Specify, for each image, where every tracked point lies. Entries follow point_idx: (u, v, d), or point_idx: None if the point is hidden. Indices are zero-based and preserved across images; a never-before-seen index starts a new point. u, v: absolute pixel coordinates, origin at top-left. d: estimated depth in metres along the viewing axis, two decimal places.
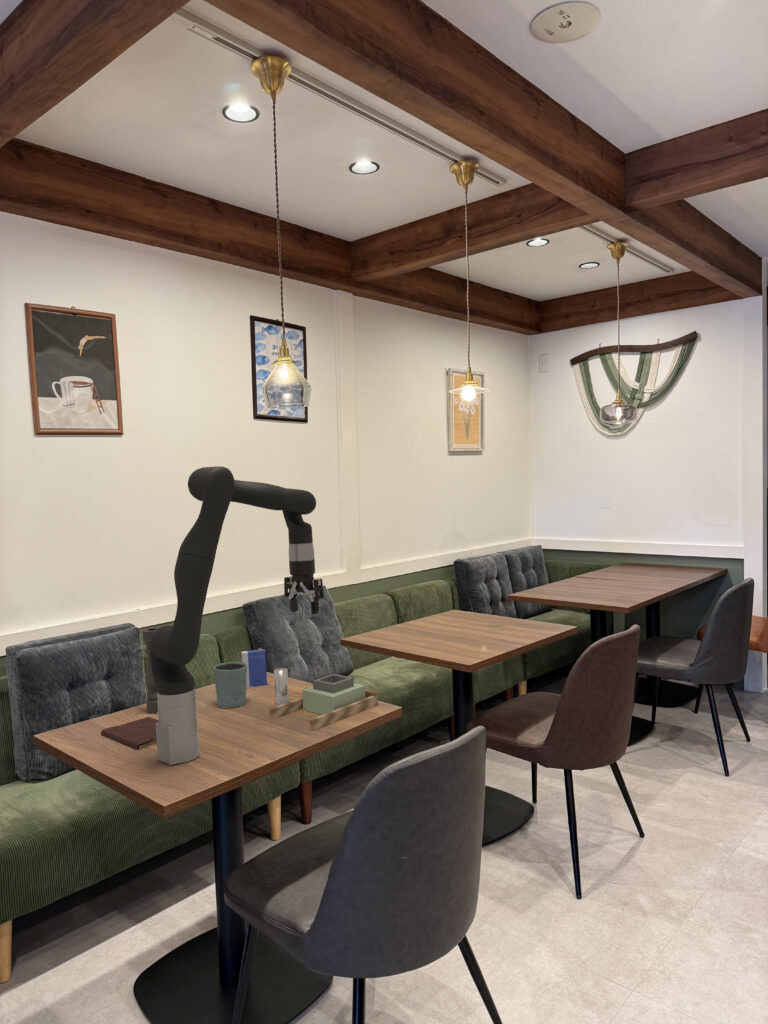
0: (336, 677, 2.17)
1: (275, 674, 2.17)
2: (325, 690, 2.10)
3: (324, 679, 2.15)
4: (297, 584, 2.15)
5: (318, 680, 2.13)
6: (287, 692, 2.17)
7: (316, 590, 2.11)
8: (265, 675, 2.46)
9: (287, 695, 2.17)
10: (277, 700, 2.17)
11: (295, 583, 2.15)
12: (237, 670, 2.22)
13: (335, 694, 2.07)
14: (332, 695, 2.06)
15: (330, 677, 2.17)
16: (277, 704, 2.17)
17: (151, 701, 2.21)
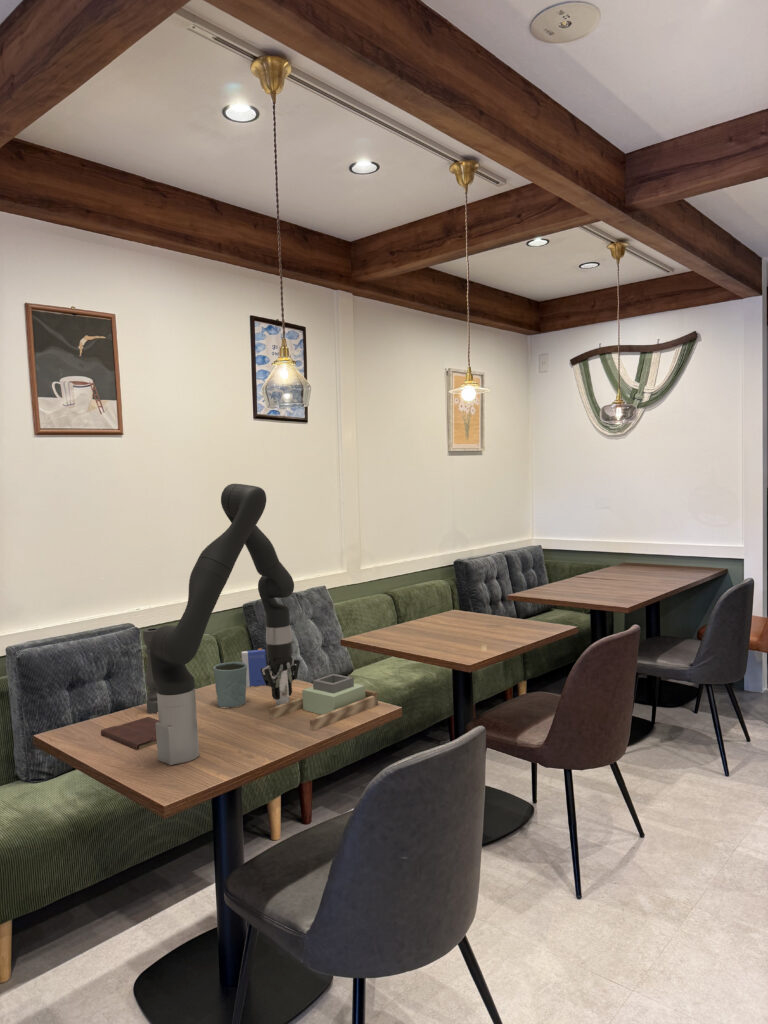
0: (336, 677, 2.17)
1: None
2: (325, 690, 2.10)
3: (324, 679, 2.15)
4: None
5: (318, 680, 2.13)
6: (287, 692, 2.17)
7: (297, 670, 2.21)
8: None
9: (287, 695, 2.17)
10: (277, 700, 2.17)
11: (281, 666, 2.16)
12: (237, 670, 2.22)
13: (335, 694, 2.07)
14: (332, 695, 2.06)
15: (330, 677, 2.17)
16: (277, 704, 2.17)
17: (151, 701, 2.21)
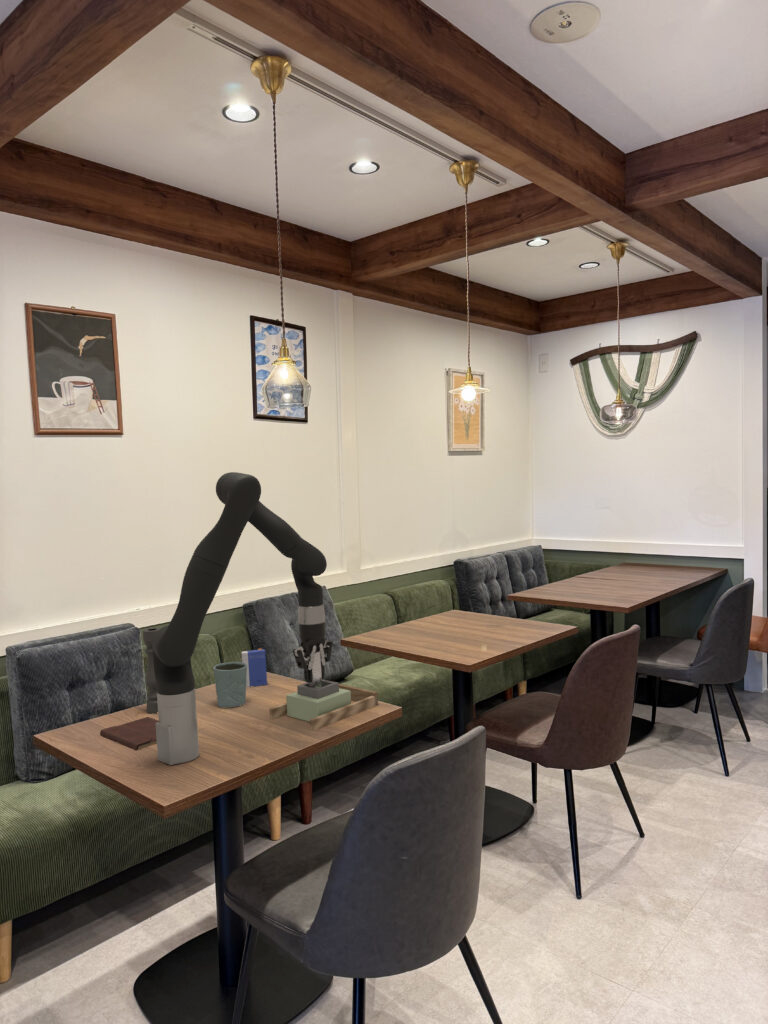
0: None
1: None
2: (309, 695, 2.05)
3: None
4: None
5: (302, 685, 2.08)
6: (320, 675, 2.07)
7: (329, 652, 2.11)
8: (265, 675, 2.46)
9: (320, 678, 2.07)
10: (309, 683, 2.07)
11: (314, 647, 2.06)
12: (237, 670, 2.22)
13: (319, 700, 2.02)
14: (316, 701, 2.01)
15: None
16: None
17: (151, 701, 2.21)
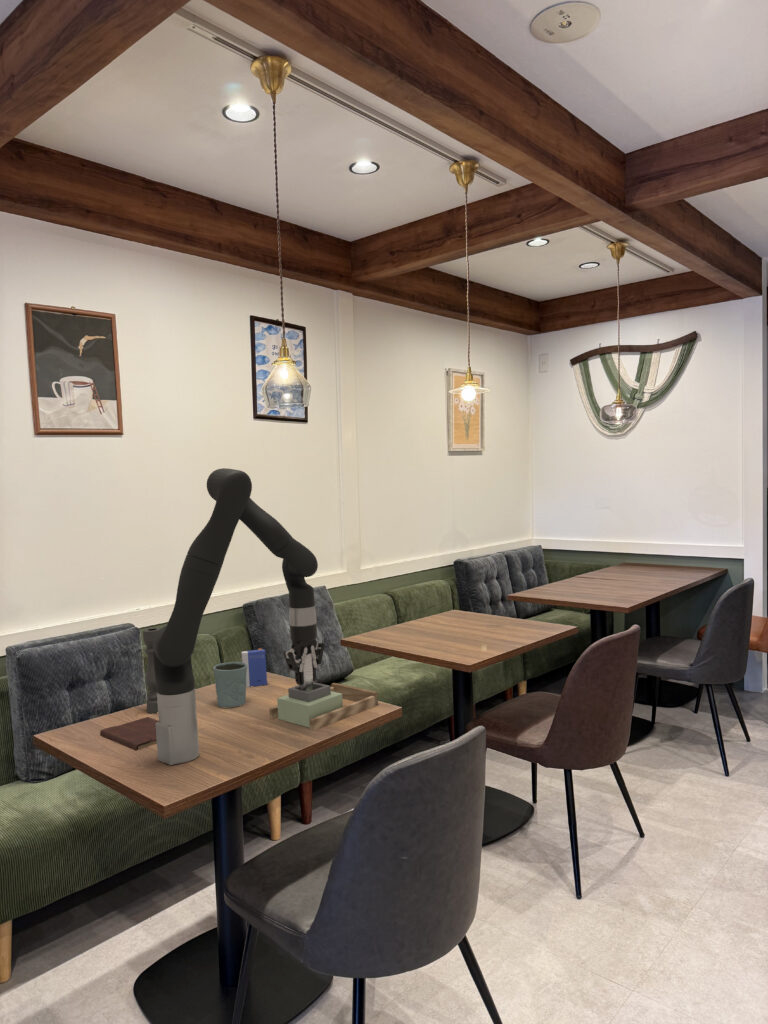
0: None
1: None
2: (300, 699, 2.03)
3: None
4: None
5: (294, 688, 2.06)
6: (311, 677, 2.05)
7: (321, 654, 2.08)
8: (265, 675, 2.46)
9: (311, 680, 2.05)
10: (301, 685, 2.04)
11: (306, 649, 2.03)
12: (237, 670, 2.22)
13: (310, 703, 2.00)
14: (307, 704, 1.99)
15: None
16: None
17: (151, 701, 2.21)
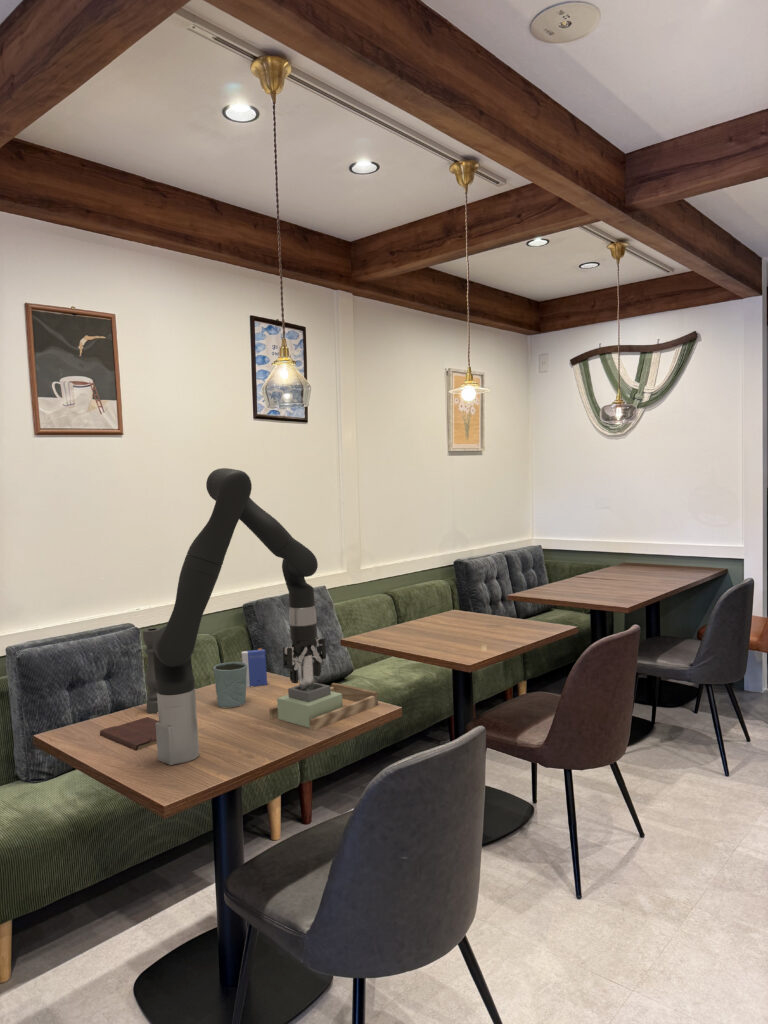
0: None
1: None
2: (300, 699, 2.03)
3: None
4: None
5: (293, 688, 2.06)
6: (312, 678, 2.05)
7: (324, 649, 2.09)
8: (265, 675, 2.46)
9: (312, 681, 2.05)
10: (301, 686, 2.04)
11: (306, 649, 2.03)
12: (237, 670, 2.22)
13: (310, 703, 1.99)
14: (307, 704, 1.99)
15: None
16: None
17: (151, 701, 2.21)
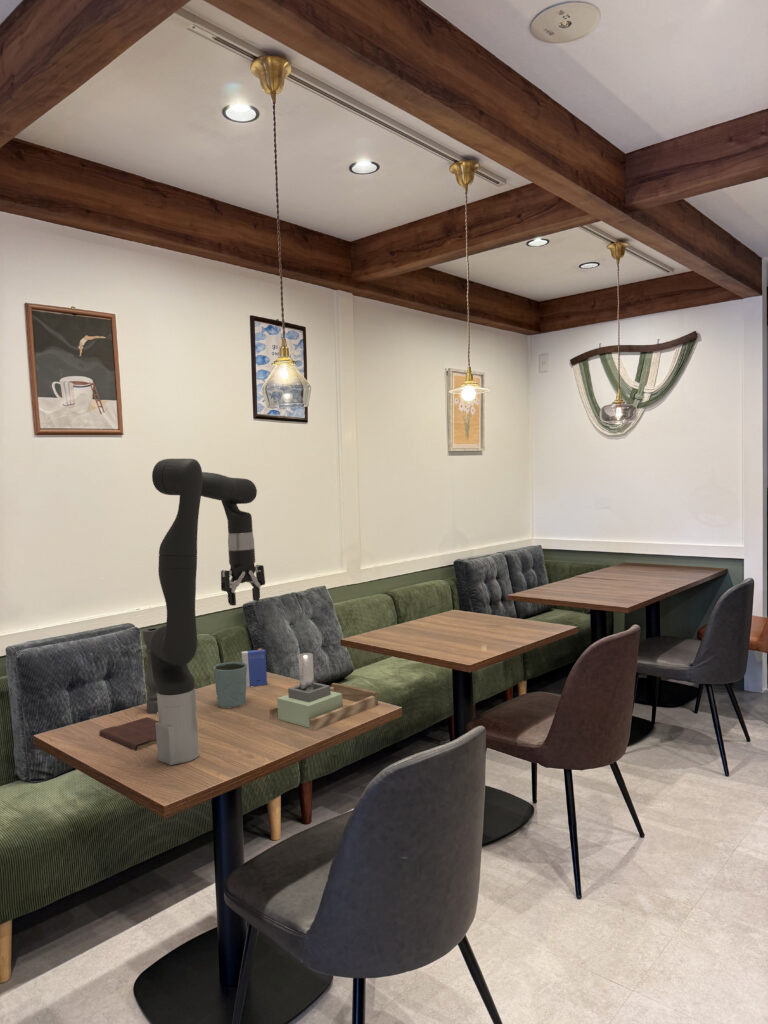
0: None
1: (300, 659, 2.04)
2: (300, 699, 2.03)
3: None
4: None
5: (293, 688, 2.06)
6: (312, 678, 2.05)
7: (263, 575, 2.18)
8: (265, 675, 2.46)
9: (312, 681, 2.05)
10: (301, 686, 2.04)
11: (243, 573, 2.12)
12: (237, 670, 2.22)
13: (310, 703, 1.99)
14: (307, 704, 1.99)
15: None
16: None
17: (151, 701, 2.21)
